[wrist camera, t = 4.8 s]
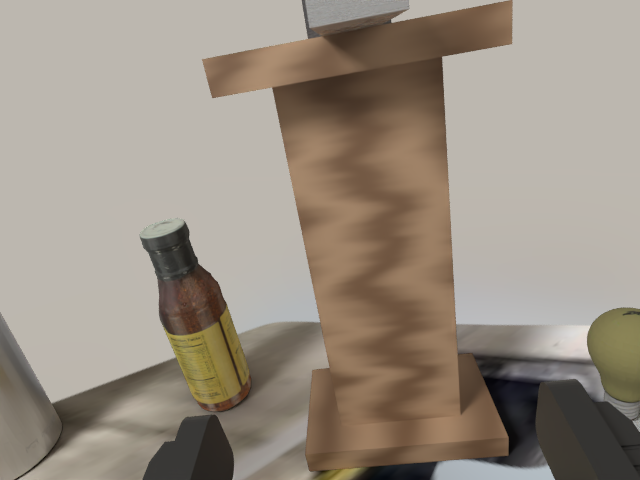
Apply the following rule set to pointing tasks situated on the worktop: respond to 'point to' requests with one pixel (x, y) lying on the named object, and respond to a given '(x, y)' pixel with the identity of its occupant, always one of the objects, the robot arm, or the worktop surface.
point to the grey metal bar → (348, 15)
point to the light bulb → (618, 357)
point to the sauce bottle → (196, 319)
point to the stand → (379, 234)
